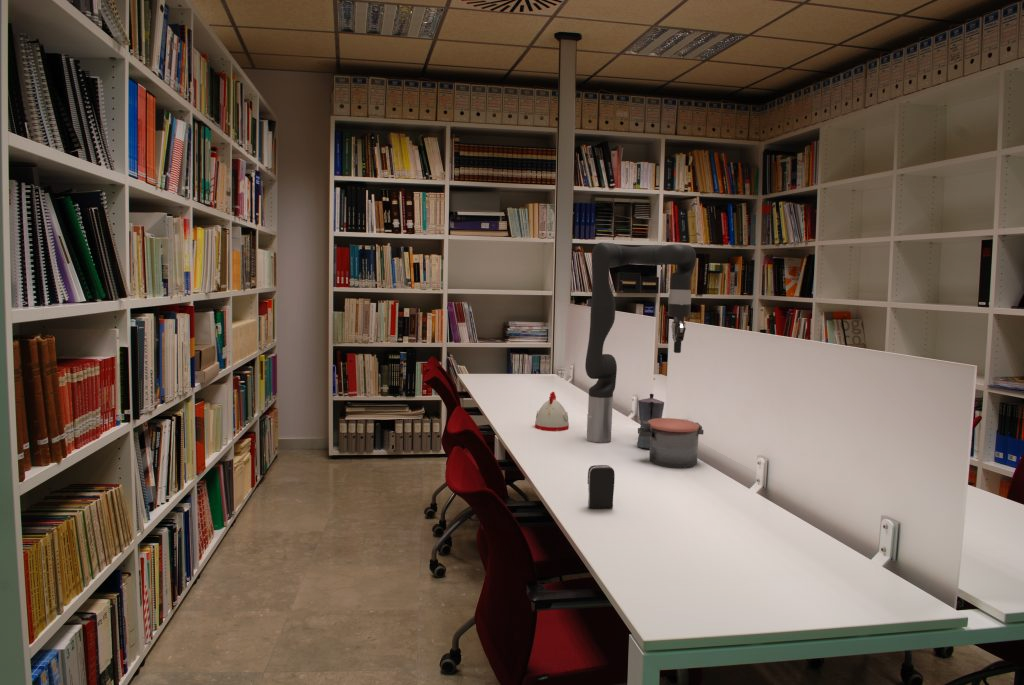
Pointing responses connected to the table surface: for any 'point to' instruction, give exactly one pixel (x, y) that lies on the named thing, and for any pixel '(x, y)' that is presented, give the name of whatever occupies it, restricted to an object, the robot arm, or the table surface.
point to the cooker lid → (672, 425)
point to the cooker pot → (672, 447)
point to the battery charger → (600, 486)
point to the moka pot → (648, 416)
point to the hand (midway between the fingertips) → (677, 352)
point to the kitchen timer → (552, 416)
